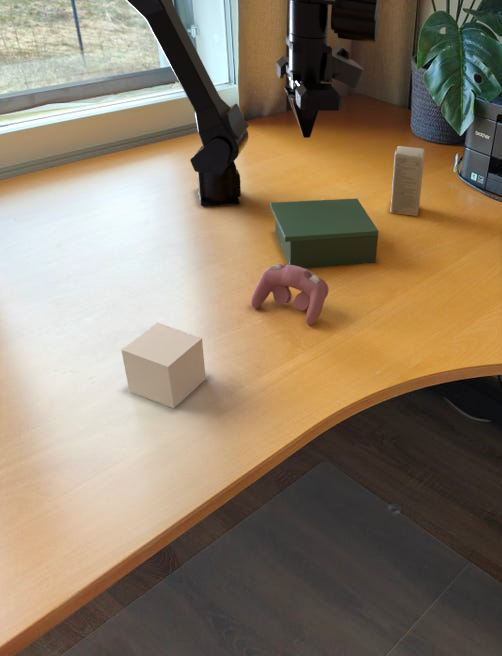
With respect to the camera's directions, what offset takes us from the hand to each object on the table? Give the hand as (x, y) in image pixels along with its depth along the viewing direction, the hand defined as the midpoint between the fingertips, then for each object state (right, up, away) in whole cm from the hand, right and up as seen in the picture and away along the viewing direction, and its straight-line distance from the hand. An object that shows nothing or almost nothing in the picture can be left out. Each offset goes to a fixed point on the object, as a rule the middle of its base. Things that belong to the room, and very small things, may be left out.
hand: (306, 136), depth 108 cm
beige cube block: (-11, -40, -32) cm, 52 cm away
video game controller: (+1, -30, -17) cm, 34 cm away
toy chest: (+3, -19, -2) cm, 19 cm away
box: (+16, -9, +13) cm, 22 cm away
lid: (+4, -15, -5) cm, 16 cm away
